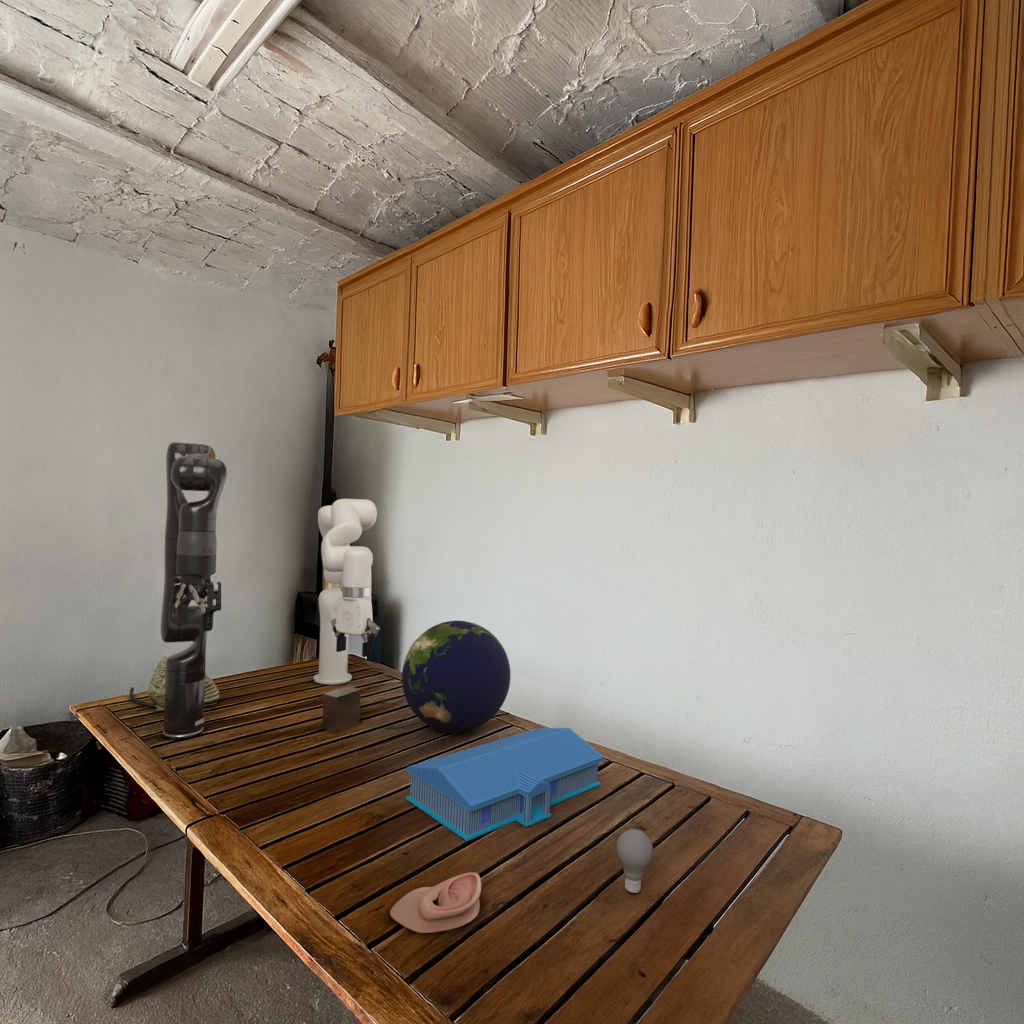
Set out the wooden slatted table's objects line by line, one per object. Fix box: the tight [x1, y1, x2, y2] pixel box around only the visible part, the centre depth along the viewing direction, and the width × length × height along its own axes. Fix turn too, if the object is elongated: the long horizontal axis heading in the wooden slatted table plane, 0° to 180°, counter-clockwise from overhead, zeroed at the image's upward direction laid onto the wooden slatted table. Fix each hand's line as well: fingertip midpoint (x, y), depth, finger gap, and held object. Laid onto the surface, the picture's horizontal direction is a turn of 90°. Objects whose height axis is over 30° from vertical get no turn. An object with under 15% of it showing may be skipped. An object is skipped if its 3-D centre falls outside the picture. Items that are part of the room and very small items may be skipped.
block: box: [321, 685, 362, 734], centre depth 175 cm, size 5×9×10 cm, turn 150°
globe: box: [401, 620, 512, 734], centre depth 175 cm, size 30×30×30 cm
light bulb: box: [615, 828, 654, 894], centre depth 106 cm, size 6×6×10 cm
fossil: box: [147, 654, 221, 712], centre depth 185 cm, size 9×18×15 cm, turn 132°
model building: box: [405, 727, 605, 842], centre depth 138 cm, size 39×24×10 cm, turn 132°
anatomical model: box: [389, 871, 482, 934], centre depth 98 cm, size 13×4×12 cm
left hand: (194, 628), depth 135 cm, fingers open, 8 cm apart
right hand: (353, 653), depth 178 cm, fingers open, 9 cm apart
